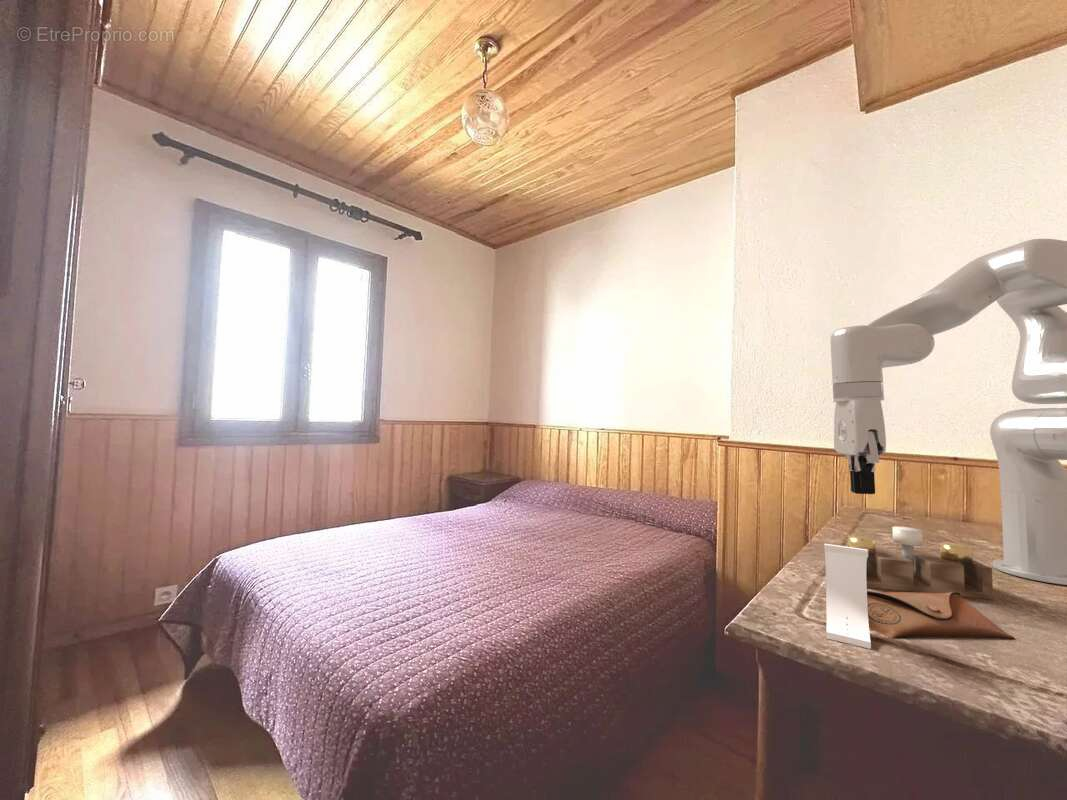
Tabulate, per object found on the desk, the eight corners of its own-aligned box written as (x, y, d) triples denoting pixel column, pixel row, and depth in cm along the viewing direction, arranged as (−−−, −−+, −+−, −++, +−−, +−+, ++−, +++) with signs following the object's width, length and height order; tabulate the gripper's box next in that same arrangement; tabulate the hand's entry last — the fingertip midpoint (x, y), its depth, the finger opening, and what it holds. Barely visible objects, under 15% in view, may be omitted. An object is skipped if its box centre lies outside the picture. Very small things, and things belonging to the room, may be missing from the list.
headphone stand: (826, 638, 56) (823, 544, 57) (826, 621, 61) (824, 535, 62) (871, 649, 54) (868, 550, 54) (868, 630, 59) (865, 540, 59)
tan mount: (959, 582, 78) (958, 554, 78) (993, 599, 70) (991, 568, 70) (837, 571, 83) (837, 544, 83) (856, 586, 75) (855, 556, 75)
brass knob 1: (870, 570, 80) (869, 536, 80) (880, 578, 76) (879, 541, 76) (845, 568, 81) (844, 534, 81) (854, 575, 77) (853, 539, 77)
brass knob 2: (963, 579, 76) (962, 542, 76) (980, 587, 72) (978, 549, 72) (936, 576, 77) (934, 540, 77) (950, 584, 73) (949, 546, 73)
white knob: (915, 563, 78) (914, 527, 78) (928, 570, 74) (927, 532, 74) (889, 560, 79) (887, 525, 79) (900, 567, 75) (899, 530, 75)
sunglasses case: (889, 640, 56) (867, 584, 60) (853, 644, 62) (835, 594, 65) (1021, 639, 57) (991, 584, 60) (974, 643, 62) (949, 594, 66)
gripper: (819, 396, 88) (824, 486, 87) (851, 391, 74) (857, 499, 73) (862, 395, 86) (867, 487, 85) (903, 389, 72) (910, 501, 71)
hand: (863, 493), depth 79 cm, fingers closed
